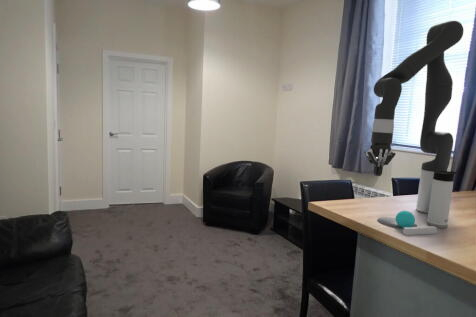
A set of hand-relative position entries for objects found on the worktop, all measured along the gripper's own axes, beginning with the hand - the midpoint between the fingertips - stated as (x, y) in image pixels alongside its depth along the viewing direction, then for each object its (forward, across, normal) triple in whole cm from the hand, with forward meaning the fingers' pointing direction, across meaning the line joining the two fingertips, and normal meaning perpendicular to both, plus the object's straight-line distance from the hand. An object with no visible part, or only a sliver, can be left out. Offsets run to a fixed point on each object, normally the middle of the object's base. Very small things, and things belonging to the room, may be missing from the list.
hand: (377, 175), depth 132 cm
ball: (+12, -1, -18) cm, 22 cm away
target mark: (+15, 0, -13) cm, 20 cm away
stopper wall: (+15, 0, -24) cm, 28 cm away
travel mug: (+15, +14, -17) cm, 27 cm away
